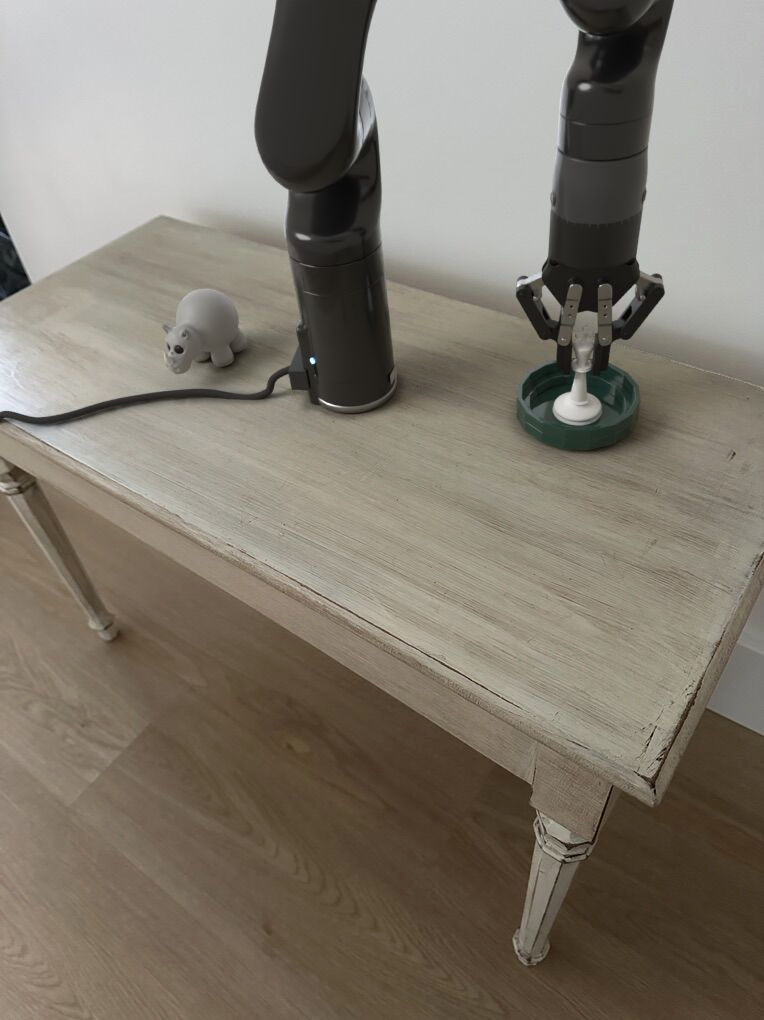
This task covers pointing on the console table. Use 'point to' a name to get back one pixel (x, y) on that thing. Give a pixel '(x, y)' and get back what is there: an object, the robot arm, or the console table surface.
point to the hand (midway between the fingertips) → (580, 371)
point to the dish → (549, 384)
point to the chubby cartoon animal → (203, 331)
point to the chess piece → (579, 387)
